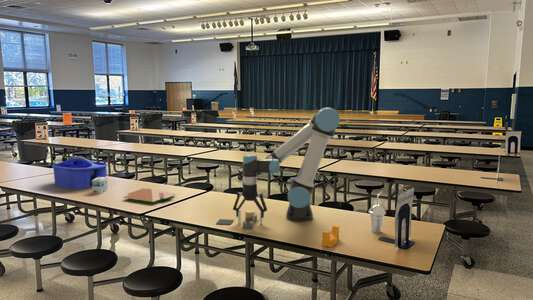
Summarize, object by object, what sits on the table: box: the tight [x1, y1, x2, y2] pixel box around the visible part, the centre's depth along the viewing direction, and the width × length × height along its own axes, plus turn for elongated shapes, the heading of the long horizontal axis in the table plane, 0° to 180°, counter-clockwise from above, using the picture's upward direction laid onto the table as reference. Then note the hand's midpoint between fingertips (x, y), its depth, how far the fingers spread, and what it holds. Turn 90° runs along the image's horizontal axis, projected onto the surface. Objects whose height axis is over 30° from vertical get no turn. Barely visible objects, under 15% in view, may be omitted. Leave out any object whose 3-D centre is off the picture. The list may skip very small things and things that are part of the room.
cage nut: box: [244, 209, 256, 224], centre depth 202 cm, size 4×6×7 cm
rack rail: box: [242, 213, 258, 229], centre depth 202 cm, size 5×16×4 cm, turn 172°
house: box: [122, 187, 176, 205], centre depth 252 cm, size 23×33×8 cm
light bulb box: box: [91, 176, 109, 195], centre depth 270 cm, size 11×7×11 cm, turn 179°
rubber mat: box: [215, 218, 234, 226], centre depth 205 cm, size 8×8×1 cm
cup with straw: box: [368, 190, 387, 234], centre depth 190 cm, size 8×9×20 cm
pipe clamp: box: [321, 224, 340, 248], centre depth 176 cm, size 12×4×6 cm, turn 143°
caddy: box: [51, 155, 108, 190], centre depth 294 cm, size 32×45×23 cm
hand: (250, 223), depth 203 cm, fingers open, 11 cm apart
